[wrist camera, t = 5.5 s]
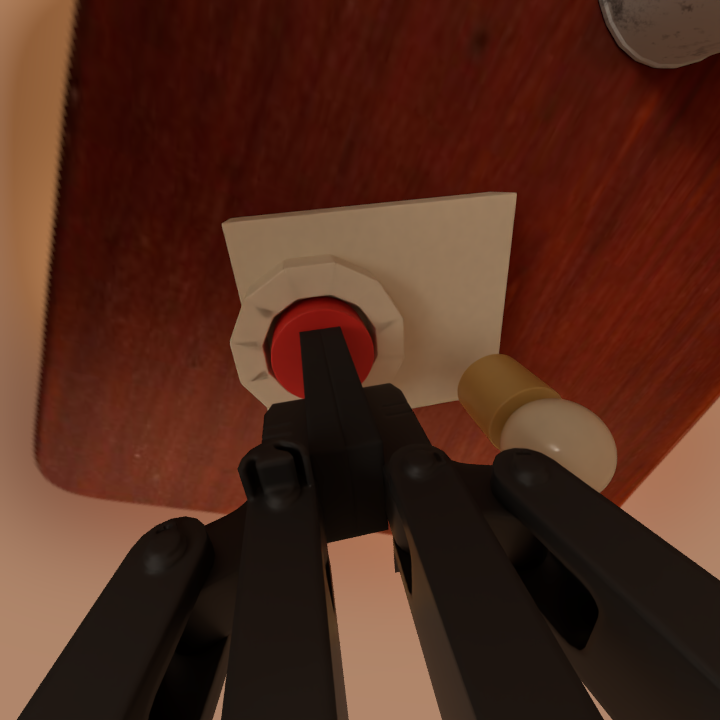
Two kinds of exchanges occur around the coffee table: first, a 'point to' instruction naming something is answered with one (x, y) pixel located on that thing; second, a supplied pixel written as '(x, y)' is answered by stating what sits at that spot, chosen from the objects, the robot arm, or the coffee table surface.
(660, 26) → the unlabeled tin can
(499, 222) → the beige button base
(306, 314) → the lamp button
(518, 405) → the led lamp
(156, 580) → the robot arm
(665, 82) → the coffee table surface
